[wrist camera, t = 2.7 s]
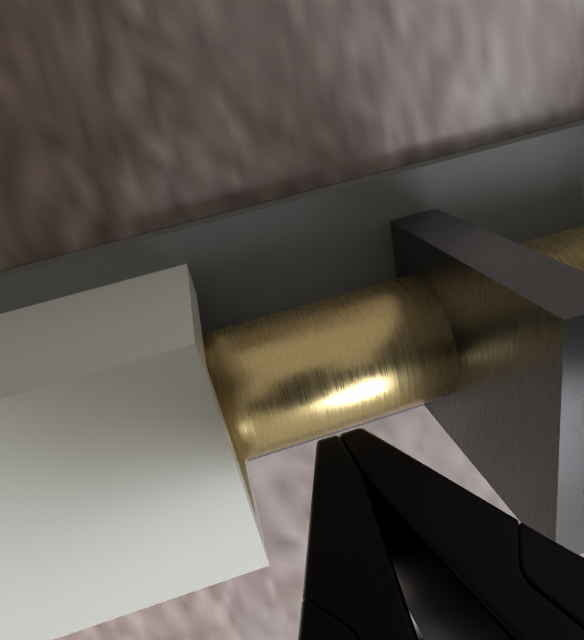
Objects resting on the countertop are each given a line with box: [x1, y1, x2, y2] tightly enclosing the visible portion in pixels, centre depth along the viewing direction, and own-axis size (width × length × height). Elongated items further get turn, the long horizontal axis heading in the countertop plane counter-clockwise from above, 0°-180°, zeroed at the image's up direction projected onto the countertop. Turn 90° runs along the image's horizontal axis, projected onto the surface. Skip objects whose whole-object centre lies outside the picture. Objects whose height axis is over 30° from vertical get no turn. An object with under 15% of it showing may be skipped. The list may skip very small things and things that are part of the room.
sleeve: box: [0, 264, 269, 640], centre depth 11 cm, size 7×5×4 cm
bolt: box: [202, 209, 584, 555], centre depth 10 cm, size 17×5×6 cm, turn 102°
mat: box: [0, 119, 584, 461], centre depth 14 cm, size 26×7×1 cm, turn 102°
